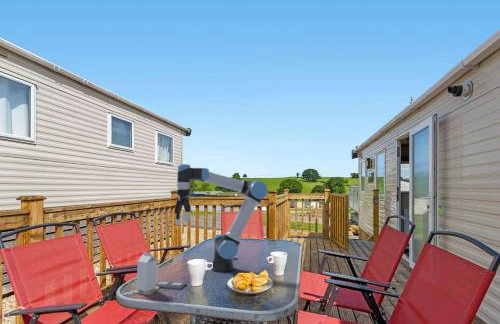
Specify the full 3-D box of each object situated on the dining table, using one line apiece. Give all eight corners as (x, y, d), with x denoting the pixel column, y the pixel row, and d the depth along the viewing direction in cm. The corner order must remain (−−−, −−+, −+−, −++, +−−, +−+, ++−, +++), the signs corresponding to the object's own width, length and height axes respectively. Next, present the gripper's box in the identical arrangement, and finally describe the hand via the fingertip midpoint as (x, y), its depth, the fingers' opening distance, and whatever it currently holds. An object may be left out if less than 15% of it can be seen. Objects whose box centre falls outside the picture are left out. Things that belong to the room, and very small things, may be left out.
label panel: (186, 284, 177) (186, 281, 177) (180, 289, 168) (180, 286, 168) (160, 282, 180) (160, 280, 180) (152, 287, 171) (153, 285, 171)
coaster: (159, 288, 170) (159, 286, 170) (150, 294, 160) (150, 293, 160) (142, 287, 171) (142, 285, 171) (132, 293, 161) (132, 291, 161)
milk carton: (145, 292, 161) (146, 255, 162) (136, 290, 164) (137, 253, 166) (156, 288, 167) (157, 252, 168) (147, 286, 170) (148, 251, 172)
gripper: (185, 188, 206) (184, 221, 205) (169, 189, 182) (168, 225, 180) (195, 188, 205) (194, 221, 204) (181, 189, 181) (180, 226, 179)
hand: (182, 223), depth 192 cm, fingers open, 13 cm apart
